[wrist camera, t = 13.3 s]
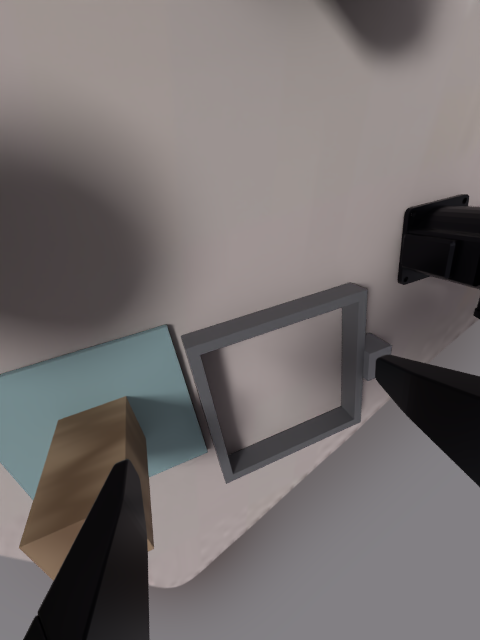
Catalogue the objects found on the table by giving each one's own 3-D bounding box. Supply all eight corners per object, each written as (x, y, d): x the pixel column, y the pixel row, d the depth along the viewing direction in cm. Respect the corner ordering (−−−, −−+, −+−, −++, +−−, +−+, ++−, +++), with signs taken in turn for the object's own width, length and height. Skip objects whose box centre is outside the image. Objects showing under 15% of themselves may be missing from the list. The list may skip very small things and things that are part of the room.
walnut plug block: (125, 395, 20) (124, 501, 13) (145, 438, 22) (154, 548, 15) (58, 420, 19) (18, 547, 12) (85, 462, 21) (65, 592, 14)
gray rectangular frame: (373, 275, 24) (398, 283, 22) (365, 400, 31) (384, 417, 29) (180, 335, 20) (187, 353, 18) (219, 465, 27) (228, 489, 25)
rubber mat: (166, 324, 19) (167, 326, 19) (206, 448, 25) (207, 452, 25) (-54, 390, 16) (-58, 394, 16) (50, 514, 22) (49, 519, 22)
